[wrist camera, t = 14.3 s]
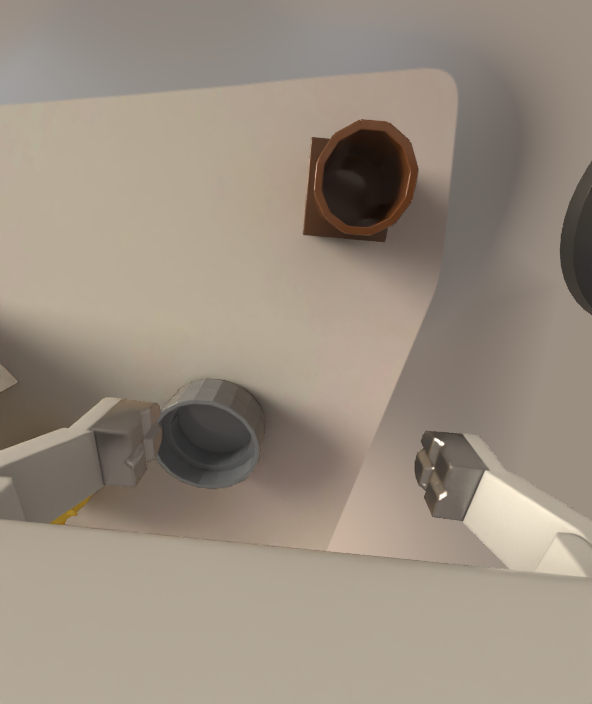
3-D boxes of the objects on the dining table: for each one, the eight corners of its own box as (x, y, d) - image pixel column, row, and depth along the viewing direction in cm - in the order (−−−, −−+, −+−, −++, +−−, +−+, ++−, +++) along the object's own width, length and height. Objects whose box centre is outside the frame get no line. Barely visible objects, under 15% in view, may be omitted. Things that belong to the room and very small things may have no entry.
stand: (382, 162, 32) (403, 145, 25) (369, 238, 35) (385, 242, 28) (311, 156, 32) (311, 136, 25) (304, 232, 35) (302, 234, 28)
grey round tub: (267, 382, 43) (261, 406, 37) (263, 462, 48) (257, 493, 43) (165, 372, 43) (144, 394, 37) (172, 453, 49) (155, 483, 43)
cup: (394, 153, 25) (428, 124, 18) (379, 234, 28) (404, 239, 20) (318, 146, 25) (320, 115, 18) (310, 228, 28) (310, 230, 20)
